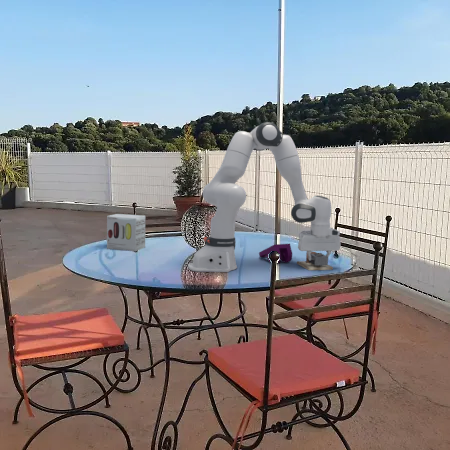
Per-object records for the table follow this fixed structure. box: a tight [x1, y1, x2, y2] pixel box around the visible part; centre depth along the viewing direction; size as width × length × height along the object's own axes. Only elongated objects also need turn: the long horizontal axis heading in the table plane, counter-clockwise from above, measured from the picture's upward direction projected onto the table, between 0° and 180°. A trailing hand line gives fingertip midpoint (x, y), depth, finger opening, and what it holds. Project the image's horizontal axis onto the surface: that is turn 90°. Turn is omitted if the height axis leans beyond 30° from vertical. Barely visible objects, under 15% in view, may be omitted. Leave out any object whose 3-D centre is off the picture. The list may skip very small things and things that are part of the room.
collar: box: [309, 253, 329, 265], centre depth 213 cm, size 6×6×4 cm
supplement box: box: [106, 213, 146, 252], centre depth 249 cm, size 17×13×18 cm
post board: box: [296, 251, 334, 271], centre depth 218 cm, size 12×14×7 cm
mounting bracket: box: [258, 243, 293, 264], centre depth 229 cm, size 9×8×18 cm
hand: (318, 260), depth 214 cm, fingers closed on collar, 6 cm apart
